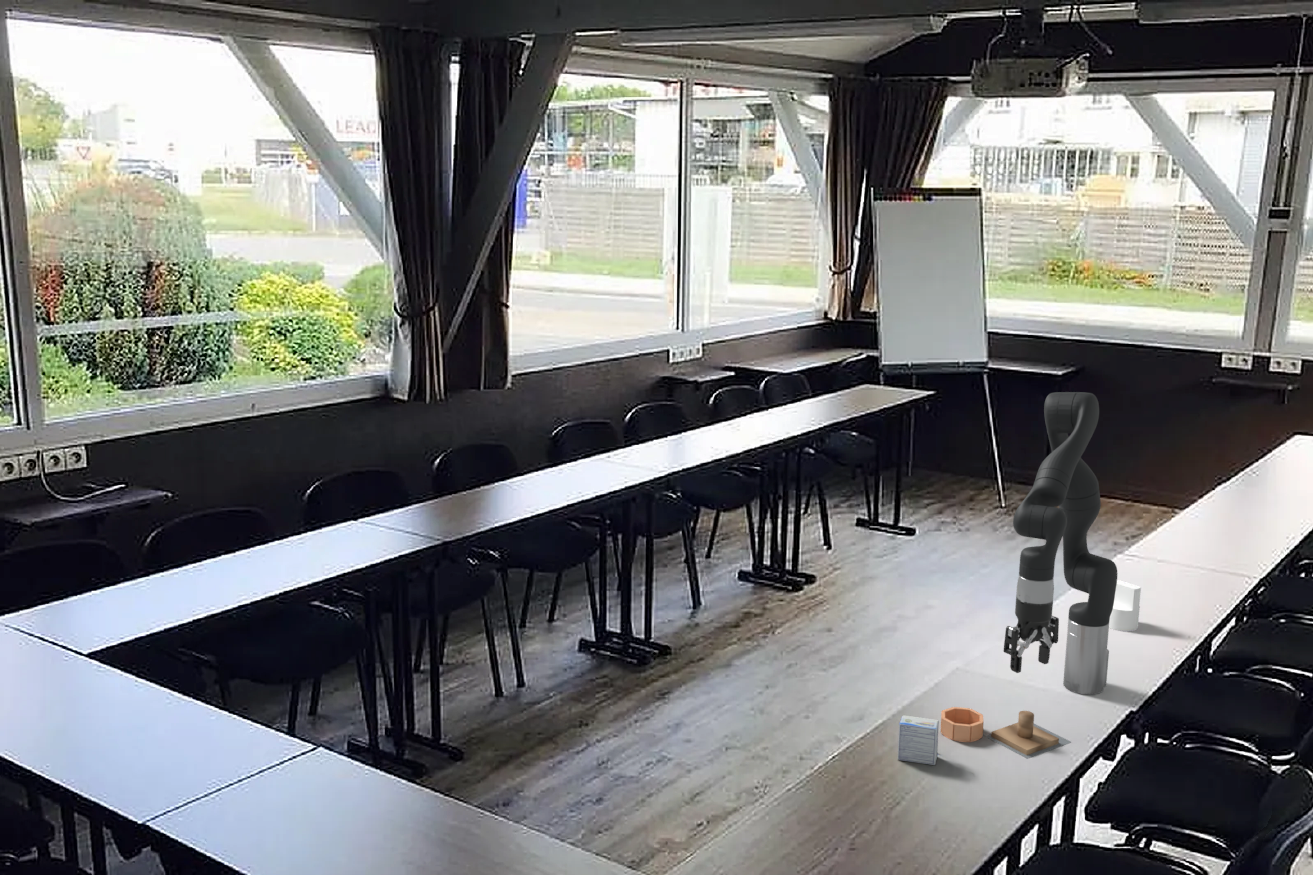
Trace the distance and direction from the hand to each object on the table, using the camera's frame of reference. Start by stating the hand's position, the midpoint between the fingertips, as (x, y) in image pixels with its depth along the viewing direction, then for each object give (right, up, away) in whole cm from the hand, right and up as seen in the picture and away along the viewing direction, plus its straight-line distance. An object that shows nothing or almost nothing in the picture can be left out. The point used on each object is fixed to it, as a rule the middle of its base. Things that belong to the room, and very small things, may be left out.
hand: (1029, 667), depth 257 cm
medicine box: (-25, -19, -3) cm, 31 cm away
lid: (0, -17, +4) cm, 17 cm away
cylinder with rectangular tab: (+47, -2, +70) cm, 84 cm away
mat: (+1, -17, +4) cm, 18 cm away
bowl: (-13, -17, +8) cm, 22 cm away
